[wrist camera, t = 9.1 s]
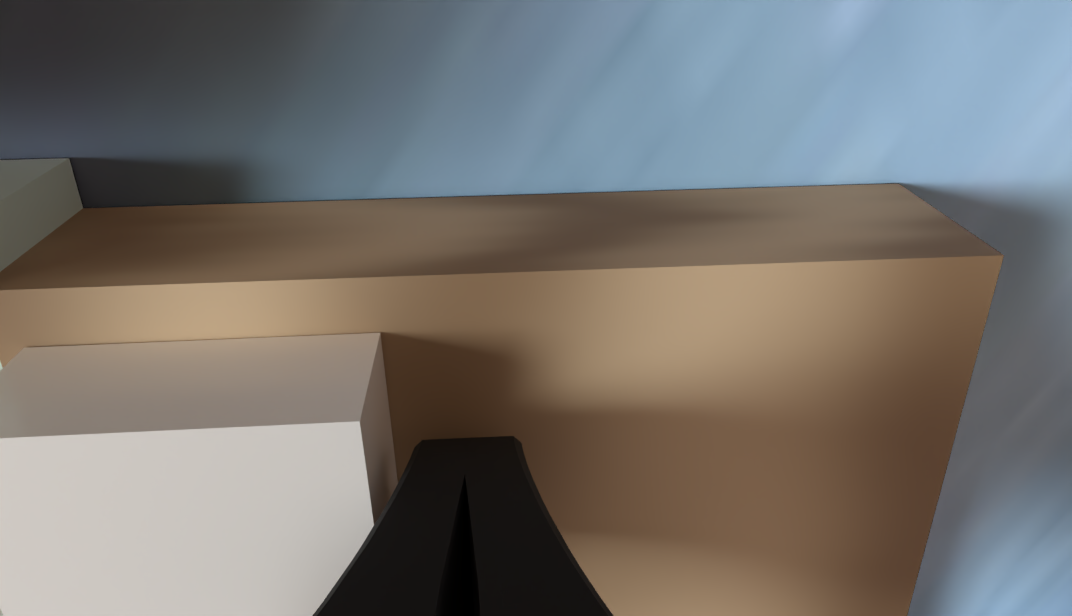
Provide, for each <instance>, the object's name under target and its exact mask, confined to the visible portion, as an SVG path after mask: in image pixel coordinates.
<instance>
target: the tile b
mask: <svg viewBox="0 0 1072 616" xmlns="http://www.w3.org/2000/svg"><path fill="white" fill-rule="evenodd" d="M397 484H398V479H397V471H396V462H395V454H394V445H393V437H392V428H391V420H390V411H389V402H388V394H387V385H386V377H385V368H384V360H383V351H382V342H381V334H380V333H360V334H337V335H313V336H289V337H265V338H242V339H218V340H194V341H170V342H147V343H123V344H99V345H76V346H52V347H28V348H23V349H22V350H21V351H20V352H19V353H18V354H17V355H16V356H15V357H14V358H13V359H12V360H11V361H10V362H9V363H8V364H7V365H6V366H5V367H4V368H3V369H2V370H1V371H0V609H1V611H2V613H3V616H313V614H314V613H315V612H316V610H317V609H318V608H319V606H320V605H321V604H322V602H323V601H324V600H325V598H326V597H327V595H328V594H329V592H330V591H331V590H332V588H333V587H334V585H335V584H336V582H337V581H338V580H339V578H340V577H341V575H342V574H343V572H344V571H345V570H346V568H347V567H348V565H349V564H350V562H351V561H352V560H353V558H354V557H355V555H356V554H357V552H358V551H359V549H360V547H361V546H362V544H363V543H364V541H365V539H366V538H367V536H368V534H369V533H370V531H371V529H372V528H373V526H374V524H375V523H376V521H377V520H378V518H379V516H380V515H381V513H382V511H383V510H384V508H385V506H386V504H387V503H388V501H389V499H390V497H391V495H392V493H393V492H394V490H395V488H396V486H397Z"/></svg>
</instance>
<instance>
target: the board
mask: <svg viewBox="0 0 1072 616" xmlns="http://www.w3.org/2000/svg"><path fill="white" fill-rule="evenodd" d="M1003 257H1004V255H1003V254H1001V253H1000V252H998V251H997V250H995V249H994V248H992V247H991V246H990V245H988V244H987V243H985V242H984V241H982V240H981V239H979V238H978V237H976V236H975V235H973V234H972V233H970V232H969V231H968V230H966V229H965V228H963V227H962V226H960V225H959V224H957V223H956V222H954V221H953V220H951V219H950V218H948V217H947V216H946V215H944V214H943V213H941V212H940V211H938V210H937V209H935V208H934V207H932V206H931V205H929V204H928V203H926V202H925V201H924V200H922V199H921V198H919V197H918V196H916V195H915V194H913V193H912V192H910V191H909V190H907V189H906V188H904V187H903V186H902V185H900V184H899V183H898V184H865V185H833V186H800V187H767V188H734V189H701V190H668V191H635V192H602V193H569V194H536V195H504V196H471V197H438V198H405V199H372V200H339V201H306V202H273V203H240V204H207V205H175V206H142V207H109V208H83V209H81V210H80V211H79V212H78V213H76V214H75V215H74V216H72V217H71V218H70V219H68V220H67V221H66V222H64V223H63V224H62V225H61V226H59V227H58V228H57V229H55V230H54V231H53V232H51V233H50V234H49V235H48V236H46V237H45V238H44V239H42V240H41V241H40V242H38V243H37V244H36V245H35V246H33V247H32V248H31V249H29V250H28V251H27V252H25V253H24V254H23V255H21V256H20V257H19V258H18V259H16V260H15V261H14V262H12V263H11V264H10V265H8V266H7V267H6V268H5V269H3V270H2V271H1V272H0V362H1V365H2V367H3V368H4V367H5V366H6V365H7V364H8V363H9V362H10V361H11V360H12V359H13V358H14V357H15V356H16V355H17V354H18V353H19V352H20V351H21V350H22V349H23V348H28V347H52V346H76V345H99V344H123V343H147V342H170V341H194V340H218V339H242V338H265V337H289V336H313V335H337V334H360V333H380V334H381V342H382V351H383V360H384V368H385V377H386V385H387V394H388V402H389V411H390V420H391V428H392V437H393V445H394V454H395V462H396V471H397V479H398V482H399V480H400V478H401V476H402V474H403V472H404V470H405V468H406V466H407V464H408V462H409V459H410V457H411V455H412V452H413V450H414V447H415V446H416V445H417V444H418V443H420V442H421V441H422V440H428V439H451V438H474V437H498V436H514V437H515V438H516V439H518V440H519V441H520V442H521V443H522V448H523V452H524V455H525V459H526V462H527V465H528V467H529V470H530V473H531V475H532V477H533V480H534V482H535V484H536V487H537V489H538V491H539V493H540V495H541V498H542V500H543V502H544V504H545V506H546V508H547V510H548V512H549V514H550V516H551V517H552V519H553V521H554V523H555V524H556V526H557V528H558V530H559V532H560V533H561V535H562V537H563V539H564V540H565V542H566V544H567V546H568V548H569V549H570V551H571V553H572V554H573V556H574V557H575V559H576V561H577V562H578V564H579V566H580V567H581V569H582V570H583V572H584V573H585V575H586V576H587V578H588V579H589V581H590V582H591V584H592V585H593V587H594V588H595V590H596V591H597V593H598V594H599V596H600V597H601V599H602V600H603V602H604V603H605V604H606V606H607V607H608V609H609V610H610V611H611V613H612V614H613V615H614V616H907V614H908V610H909V606H910V603H911V599H912V595H913V591H914V588H915V584H916V580H917V577H918V573H919V569H920V565H921V562H922V558H923V554H924V551H925V547H926V543H927V539H928V536H929V532H930V528H931V525H932V521H933V517H934V513H935V510H936V506H937V502H938V499H939V495H940V491H941V487H942V484H943V480H944V476H945V473H946V469H947V465H948V461H949V458H950V454H951V450H952V446H953V443H954V439H955V435H956V432H957V428H958V424H959V420H960V417H961V413H962V409H963V406H964V402H965V398H966V394H967V391H968V387H969V383H970V380H971V376H972V372H973V368H974V365H975V361H976V357H977V354H978V350H979V346H980V342H981V339H982V335H983V331H984V328H985V324H986V320H987V316H988V313H989V309H990V305H991V302H992V298H993V294H994V290H995V287H996V283H997V279H998V275H999V272H1000V268H1001V264H1002V261H1003Z"/></svg>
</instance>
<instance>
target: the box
mask: <svg viewBox="0 0 1072 616" xmlns="http://www.w3.org/2000/svg"><path fill="white" fill-rule="evenodd" d="M81 209H83V206H82V203H81V199H80V196H79V192H78V188H77V185H76V181H75V178H74V174H73V171H72V167H71V163H70V160H69V158H57V159H21V160H0V272H1V271H2V270H3V269H5V268H6V267H7V266H8V265H10V264H11V263H12V262H14V261H15V260H16V259H18V258H19V257H20V256H21V255H23V254H24V253H25V252H27V251H28V250H29V249H31V248H32V247H33V246H35V245H36V244H37V243H38V242H40V241H41V240H42V239H44V238H45V237H46V236H48V235H49V234H50V233H51V232H53V231H54V230H55V229H57V228H58V227H59V226H61V225H62V224H63V223H64V222H66V221H67V220H68V219H70V218H71V217H72V216H74V215H75V214H76V213H78V212H79V211H80V210H81ZM2 369H3V367H2V365H1V362H0V371H1V370H2Z"/></svg>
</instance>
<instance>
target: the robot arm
mask: <svg viewBox="0 0 1072 616" xmlns="http://www.w3.org/2000/svg"><path fill="white" fill-rule="evenodd" d="M313 616H614V615H613V614H612V613H611V611H610V610H609V609H608V607H607V606H606V604H605V603H604V602H603V600H602V599H601V597H600V596H599V594H598V593H597V591H596V590H595V588H594V587H593V585H592V584H591V582H590V581H589V579H588V578H587V576H586V575H585V573H584V572H583V570H582V569H581V567H580V566H579V564H578V562H577V561H576V559H575V557H574V556H573V554H572V553H571V551H570V549H569V548H568V546H567V544H566V542H565V540H564V539H563V537H562V535H561V533H560V532H559V530H558V528H557V526H556V524H555V523H554V521H553V519H552V517H551V516H550V514H549V512H548V510H547V508H546V506H545V504H544V502H543V500H542V498H541V495H540V493H539V491H538V489H537V487H536V484H535V482H534V480H533V477H532V475H531V473H530V470H529V467H528V465H527V462H526V459H525V455H524V452H523V448H522V443H521V442H520V441H519V440H518V439H516V438H515V437H514V436H498V437H474V438H451V439H428V440H422V441H421V442H420V443H418V444H417V445H416V446H415V447H414V450H413V452H412V455H411V457H410V459H409V462H408V464H407V466H406V468H405V470H404V472H403V474H402V476H401V478H400V480H399V482H398V484H397V486H396V488H395V490H394V492H393V493H392V495H391V497H390V499H389V501H388V503H387V504H386V506H385V508H384V510H383V511H382V513H381V515H380V516H379V518H378V520H377V521H376V523H375V524H374V526H373V528H372V529H371V531H370V533H369V534H368V536H367V538H366V539H365V541H364V543H363V544H362V546H361V547H360V549H359V551H358V552H357V554H356V555H355V557H354V558H353V560H352V561H351V562H350V564H349V565H348V567H347V568H346V570H345V571H344V572H343V574H342V575H341V577H340V578H339V580H338V581H337V582H336V584H335V585H334V587H333V588H332V590H331V591H330V592H329V594H328V595H327V597H326V598H325V600H324V601H323V602H322V604H321V605H320V606H319V608H318V609H317V610H316V612H315V613H314V614H313Z"/></svg>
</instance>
